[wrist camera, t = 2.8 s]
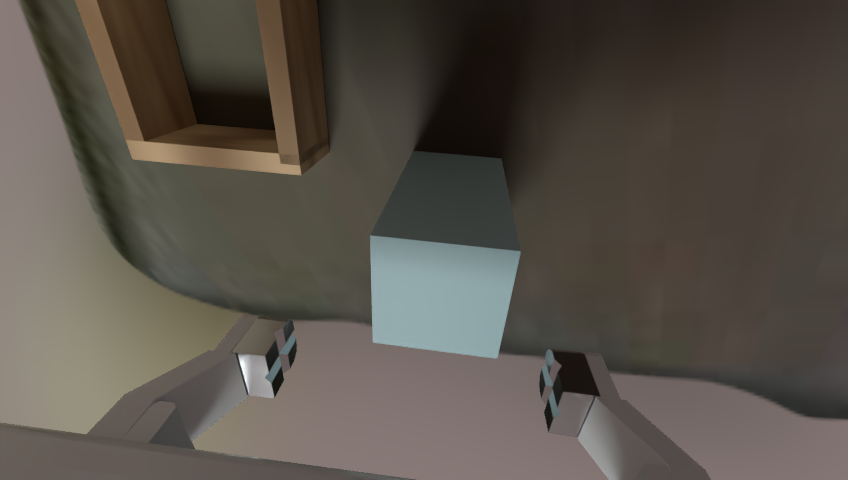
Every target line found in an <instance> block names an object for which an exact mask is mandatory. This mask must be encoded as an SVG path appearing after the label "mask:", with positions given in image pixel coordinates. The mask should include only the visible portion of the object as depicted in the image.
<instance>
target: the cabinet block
mask: <svg viewBox="0 0 848 480" xmlns="http://www.w3.org/2000/svg"><path fill="white" fill-rule="evenodd" d="M370 250H371V287H372V324H373V342H374V343H381V344H388V345H396V346H404V347H411V348H419V349H427V350H434V351H443V352H451V353H458V354H466V355H473V356H481V357H489V358H496V359H497V357H498V353H499V348H500V344H501V339H502V335H503V330H504V326H505V321H506V317H507V312H508V307H509V303H510V298H511V294H512V289H513V285H514V280H515V276H516V271H517V267H518V262H519V257H520V253H521V250H520V245H519V240H518V235H517V231H516V226H515V221H514V216H513V211H512V207H511V202H510V197H509V192H508V187H507V183H506V178H505V173H504V168H503V163H502V158H490V157H479V156H467V155H456V154H444V153H433V152H421V151H413V153H412V155H411V157H410V159H409V161H408V163H407V165H406V166H405V168H404V170H403V172H402V174H401V176H400V178H399V180H398V182H397V184H396V186H395V188H394V190H393V192H392V194H391V196H390V198H389V200H388V202H387V203H386V205H385V207H384V209H383V211H382V213H381V215H380V217H379V219H378V221H377V223H376V225H375V227H374V229H373V231H372V233H371V235H370Z"/></svg>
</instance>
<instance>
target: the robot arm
mask: <svg viewBox="0 0 848 480" xmlns="http://www.w3.org/2000/svg"><path fill="white" fill-rule="evenodd" d="M293 331H294V325H293V321H291V320H287V319H280V318H273V317H265V316H256V315H249V314H246V315H244V316H242V317H241V318H240V319H239V320H238V322H237V323H236V324H235V325H234V327H233V328H232V329H231V330H230V331H229V333H228V334H227V335H226V336H225V338H224V339H223V340H222V341H221V343H220V344H219V345H218V346H217V348H216V349H215V350H214V351H207V352H205V353H203V354H202V355H200V356H198V357H196V358H194V359H192V360H190V361H188V362H186V363H184V364H182V365H180V366H178V367H177V368H175V369H173V370H171V371H169V372H167V373H165V374H163V375H161V376H160V377H158V378H155V379H154V380H152V381H150V382H148V383H146V384H144V385H142V386H140V387H138V388H136V389H134V390H133V391H131V392H129V393H127V394H125V395H124V396H123V397H122V398H121V399H120V400H119V401H118V402H117V403H116V404H115V405H114V406H113V407H112V408H111V409H110V410H109V411H108V412H107V414H106V415H105V416H104V417H103V418H102V419H101V420H100V421H99V422H98V423H97V424H96V425H95V426H94V427H93V428H92V429H91V430H90V431H89V432H88V433H87V434H79V433H72V432H65V431H58V430H50V429H43V428H36V427H28V426H21V425H14V424H7V423H0V480H414V479H407V478H400V477H392V476H385V475H377V474H371V473H363V472H356V471H348V470H341V469H334V468H327V467H320V466H312V465H305V464H297V463H291V462H283V461H276V460H268V459H261V458H254V457H247V456H240V455H232V454H225V453H218V452H209V451H203V450H196V449H195V448H194V446H193V443H192V441H193V440H194V439H195V438H197V437H198V436H199V435H200V434H202V433H203V432H204V431H206V430H207V429H208V428H209V427H211V426H212V425H213V424H214V423H216V422H217V421H218V420H219V419H221V418H222V417H223V416H224V415H226V414H227V413H228V412H230V411H231V410H232V409H233V408H235V407H236V406H237V405H238V404H240V403H241V402H242V401H243V400H245V399H246V398H247V397H248V396H259V397H268V398H275V396H276V395H277V393H278V391H279V389H280V387H281V385H282V383H283V381H284V376H283V373H284V372H286V371H287V370H289V369H290V368H291V366H292V364H293V362H294V360H295V356H296V352H297V343H296V339H295V338H294V337H293V336H292V335H291V334H292V332H293ZM545 360H546V364H547V365H545V366H544V367H542V369H541V373H540V380H539V388H540V395H541V399H542V400H543V401H544V403H545V404H546V407H545V410H544V415H545V419H546V424H547V429H548V432H549V433H554V434H561V435H566V436H573V437H578V440H579V441H580V443H581V444H582V445H583V447H584V448H585V449H586V450H587V452H588V453H589V454H590V456H591V457H592V458H593V459H594V461H595V462H596V463H597V465H598V466H599V467H600V469H601V470H602V471H603V473H604V474H605V475H606V477H607V478H608V479H609V480H711V479H710V477H709V476H708V474H707V472H706V470H705V469H703V468H702V467H701V466H700V465H699V464H698V463H697V462H695V461H694V460H693V459H692V458H691V457H690V456H689V455H688V454H686V453H685V452H684V451H683V450H682V449H681V448H680V447H678V446H677V445H676V444H675V443H674V442H673V441H672V440H671V439H669V438H668V437H667V436H666V435H665V434H664V433H663V432H661V431H660V430H659V429H658V428H657V427H656V426H655V425H653V424H652V423H651V422H650V421H649V420H648V419H647V418H645V417H644V416H643V415H642V414H641V413H640V412H638V410H636V409H635V408H634V407H633V406H632V405H631V404H630V403H629V402H627V401H626V400H621V399H620V397H619V394H618V392H617V390H616V387H615V385H614V383H613V381H612V379H611V376H610V374H609V371H608V369H607V367H606V365H605V362H604V360H603V358H602V356H601V355H600V354H595V353H585V352H582V353H581V352H575V351H565V350H555V349H549V350H548V351H547V353H546V356H545ZM247 395H248V396H247Z"/></svg>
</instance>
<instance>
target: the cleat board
mask: <svg viewBox="0 0 848 480" xmlns="http://www.w3.org/2000/svg"><path fill="white" fill-rule="evenodd" d="M255 1H256V7H257V14H258V20H259V27H260V33H261V40H262V47H263V53H264V60H265V66H266V73H267V79H268V86H269V92H270V99H271V105H272V112H273V118H274V125H275V130H264V129H252V128H240V127H228V126H217V125H205V124H197V121H196V117H195V113H194V110H193V106H192V102H191V98H190V94H189V90H188V86H187V82H186V79H185V75H184V71H183V67H182V63H181V59H180V55H179V51H178V48H177V44H176V40H175V36H174V32H173V28H172V24H171V20H170V17H169V13H168V9H167V5H166V1H165V0H75V2H76V4H77V7H78V10H79V13H80V15H81V18H82V21H83V24H84V26H85V29H86V32H87V35H88V37H89V40H90V43H91V46H92V48H93V51H94V54H95V57H96V59H97V62H98V65H99V68H100V70H101V73H102V76H103V79H104V81H105V84H106V87H107V90H108V92H109V95H110V98H111V101H112V103H113V106H114V109H115V112H116V115H117V117H118V120H119V123H120V126H121V128H122V131H123V134H124V137H125V139H126V142H127V145H128V148H129V150H130V153H131V156H132V159H135V160H145V161H156V162H167V163H177V164H188V165H198V166H209V167H219V168H230V169H240V170H251V171H261V172H272V173H282V174H293V175H302V174H304V173H305V172H306V171H307V170H308V169H310V168H311V167H312V166H313V165H314V164H316V163H317V162H318V161H319V160H320V159H322V158H323V157H324V156H325V155H326V154H328V153H329V142H328V130H327V118H326V105H325V93H324V81H323V68H322V56H321V44H320V32H319V19H318V7H317V0H255Z"/></svg>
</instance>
